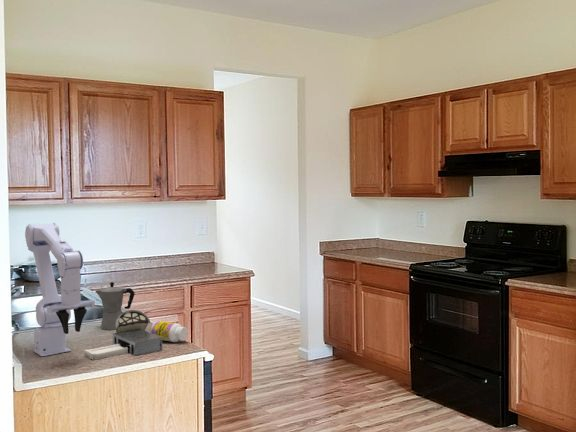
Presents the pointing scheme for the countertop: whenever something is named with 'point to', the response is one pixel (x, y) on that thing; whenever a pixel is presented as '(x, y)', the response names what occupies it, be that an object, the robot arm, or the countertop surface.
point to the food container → (132, 321)
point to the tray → (105, 351)
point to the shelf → (138, 341)
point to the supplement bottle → (169, 331)
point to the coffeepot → (113, 304)
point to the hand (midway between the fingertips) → (71, 332)
